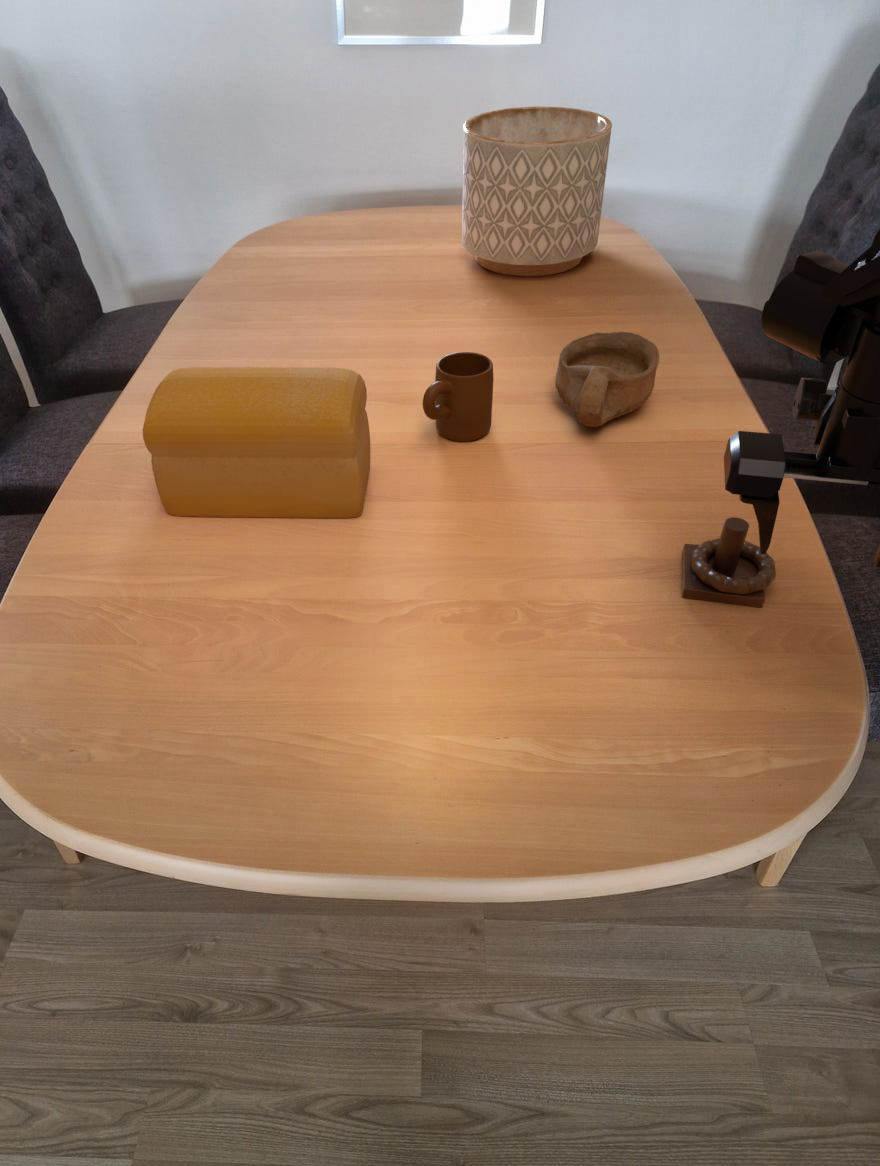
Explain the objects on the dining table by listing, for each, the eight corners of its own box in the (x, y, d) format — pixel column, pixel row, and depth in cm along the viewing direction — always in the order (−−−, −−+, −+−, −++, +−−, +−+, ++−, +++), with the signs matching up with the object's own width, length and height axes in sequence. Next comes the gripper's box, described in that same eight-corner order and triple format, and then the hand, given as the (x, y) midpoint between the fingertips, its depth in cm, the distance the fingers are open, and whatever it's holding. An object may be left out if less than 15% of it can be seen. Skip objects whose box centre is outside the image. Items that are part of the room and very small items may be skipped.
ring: (770, 552, 91) (774, 540, 90) (775, 601, 85) (780, 589, 84) (690, 542, 92) (693, 531, 91) (690, 590, 87) (693, 579, 85)
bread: (372, 462, 109) (365, 352, 98) (362, 520, 100) (353, 405, 89) (189, 460, 111) (163, 352, 100) (162, 517, 101) (131, 404, 91)
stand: (757, 560, 92) (775, 506, 87) (762, 608, 86) (781, 552, 81) (682, 551, 93) (695, 497, 88) (681, 597, 88) (696, 542, 83)
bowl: (671, 438, 108) (663, 367, 101) (563, 459, 112) (548, 393, 106) (660, 373, 120) (651, 306, 114) (562, 395, 125) (549, 332, 118)
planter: (493, 291, 149) (499, 150, 133) (442, 245, 166) (442, 116, 151) (620, 268, 154) (640, 131, 139) (557, 226, 172) (569, 100, 156)
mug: (448, 464, 108) (449, 397, 101) (403, 445, 112) (401, 379, 105) (502, 426, 114) (505, 360, 108) (458, 409, 118) (458, 345, 112)
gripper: (997, 349, 65) (920, 516, 75) (744, 334, 69) (705, 495, 79) (1039, 419, 57) (946, 594, 68) (750, 397, 61) (706, 566, 72)
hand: (819, 557), depth 72 cm, fingers open, 9 cm apart
